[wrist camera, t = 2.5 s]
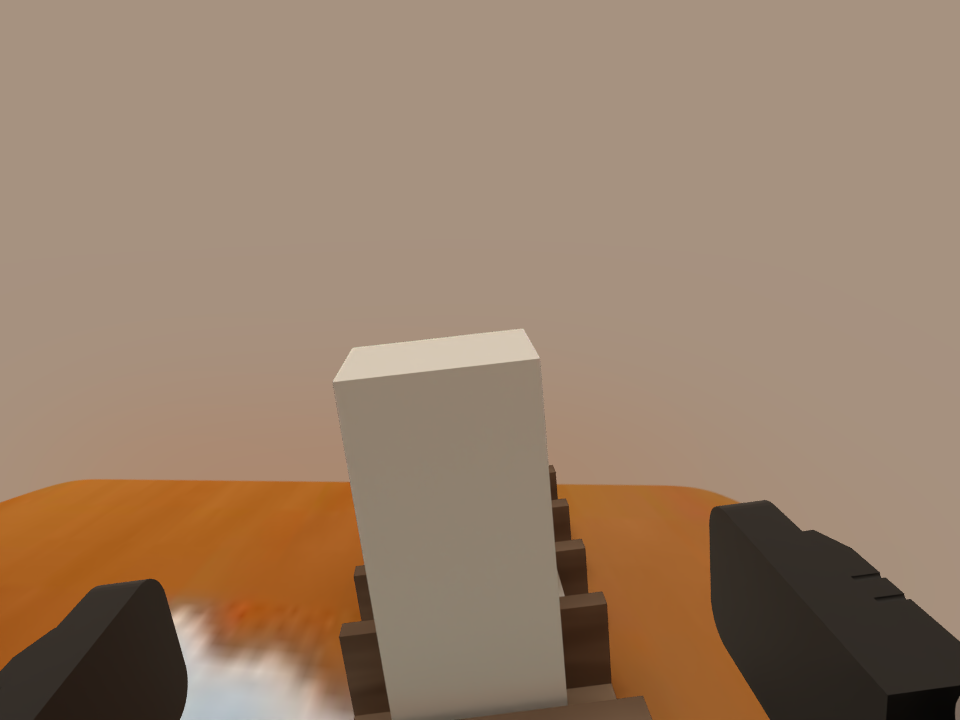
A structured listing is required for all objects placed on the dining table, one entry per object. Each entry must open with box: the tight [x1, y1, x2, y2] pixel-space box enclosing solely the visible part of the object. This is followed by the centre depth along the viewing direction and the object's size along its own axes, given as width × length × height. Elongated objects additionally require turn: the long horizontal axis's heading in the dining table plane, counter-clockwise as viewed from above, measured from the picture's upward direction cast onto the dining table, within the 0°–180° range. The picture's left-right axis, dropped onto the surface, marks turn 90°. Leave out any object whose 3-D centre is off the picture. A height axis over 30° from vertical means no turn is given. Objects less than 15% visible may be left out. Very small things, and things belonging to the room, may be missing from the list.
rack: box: [339, 465, 652, 720], centre depth 30 cm, size 19×11×5 cm, turn 3°
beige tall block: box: [333, 329, 568, 720], centre depth 22 cm, size 4×6×16 cm, turn 93°
